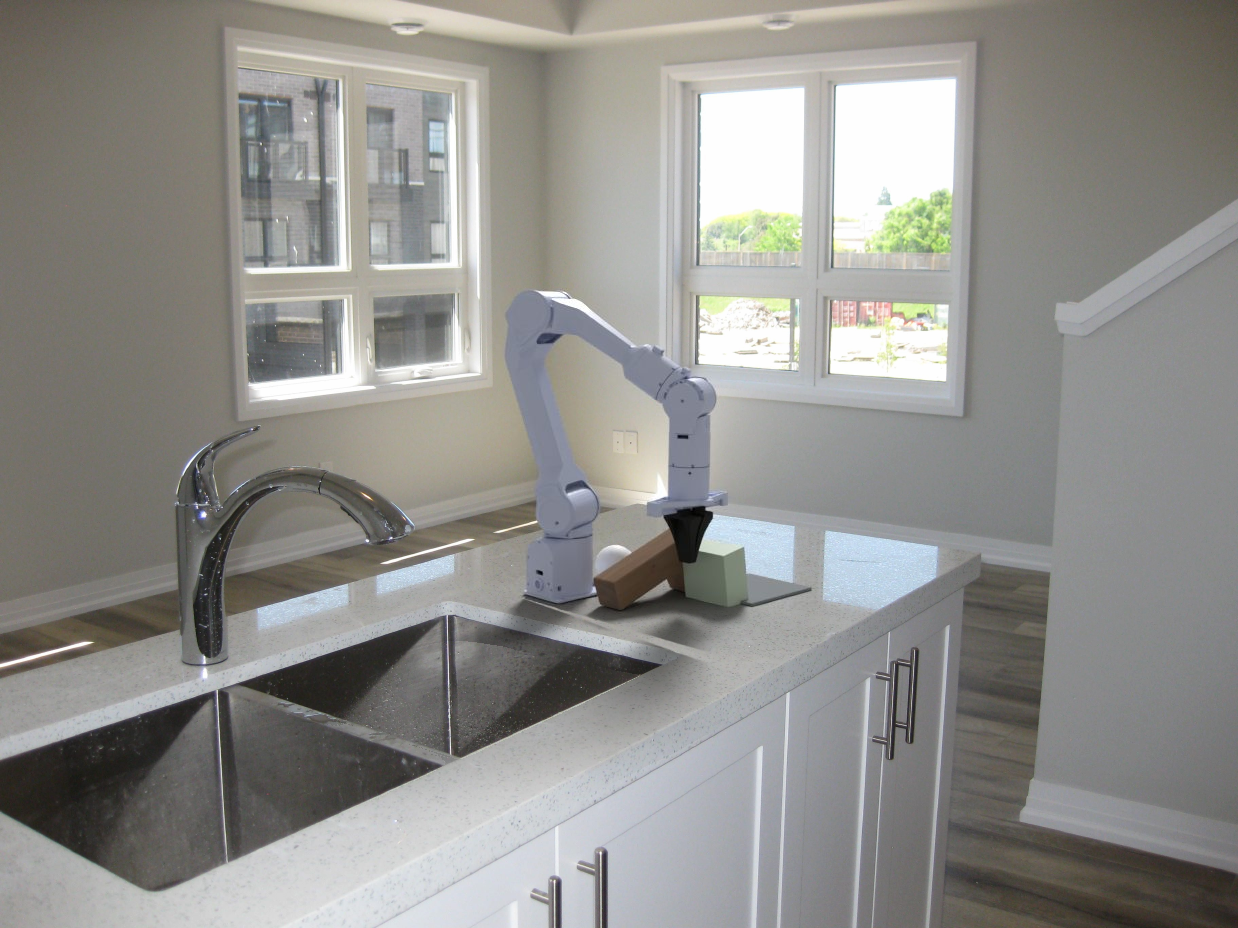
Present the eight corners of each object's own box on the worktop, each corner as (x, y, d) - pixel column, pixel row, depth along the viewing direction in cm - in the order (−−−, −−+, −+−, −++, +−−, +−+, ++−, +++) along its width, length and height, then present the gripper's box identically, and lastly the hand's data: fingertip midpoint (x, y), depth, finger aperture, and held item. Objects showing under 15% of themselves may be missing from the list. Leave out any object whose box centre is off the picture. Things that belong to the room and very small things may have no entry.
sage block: (728, 609, 161) (723, 555, 159) (686, 599, 167) (681, 547, 165) (748, 599, 164) (744, 546, 162) (706, 589, 170) (701, 538, 168)
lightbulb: (660, 539, 180) (605, 536, 173) (671, 574, 177) (616, 573, 170) (637, 558, 184) (582, 556, 177) (648, 592, 181) (593, 591, 174)
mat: (751, 606, 162) (751, 603, 162) (688, 590, 170) (688, 588, 170) (811, 589, 171) (811, 587, 171) (749, 575, 180) (749, 573, 180)
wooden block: (711, 580, 171) (628, 640, 160) (689, 575, 174) (606, 633, 163) (699, 526, 168) (613, 583, 157) (677, 522, 171) (591, 577, 160)
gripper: (674, 473, 151) (672, 574, 153) (745, 463, 161) (743, 558, 163) (636, 467, 156) (635, 566, 158) (707, 458, 166) (705, 550, 168)
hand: (687, 561), depth 160 cm, fingers closed
